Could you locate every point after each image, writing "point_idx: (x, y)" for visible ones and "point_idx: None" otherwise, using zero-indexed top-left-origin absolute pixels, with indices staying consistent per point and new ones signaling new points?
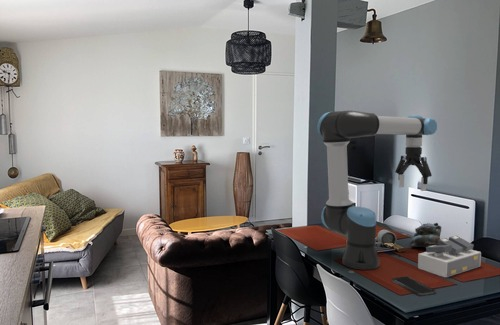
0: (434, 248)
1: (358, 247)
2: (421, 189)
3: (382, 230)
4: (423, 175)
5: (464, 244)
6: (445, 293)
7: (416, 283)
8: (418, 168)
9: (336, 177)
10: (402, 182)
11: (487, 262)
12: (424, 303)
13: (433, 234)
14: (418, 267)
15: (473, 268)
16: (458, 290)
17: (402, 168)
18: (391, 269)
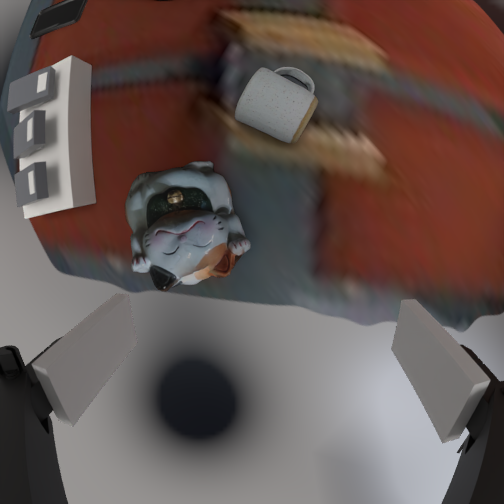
0: (31, 74)
1: None
2: (115, 298)
3: (297, 96)
4: (11, 382)
5: (18, 178)
6: (24, 51)
7: (55, 22)
8: (19, 491)
9: None
10: (414, 356)
11: (58, 254)
12: (31, 11)
13: (143, 224)
14: (89, 65)
15: None
16: (18, 76)
17: (498, 480)
18: (119, 11)
